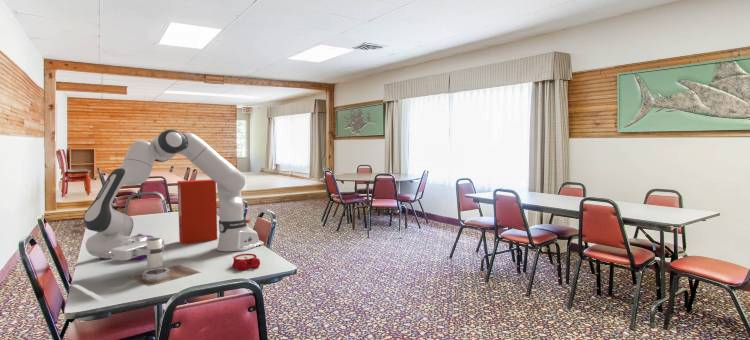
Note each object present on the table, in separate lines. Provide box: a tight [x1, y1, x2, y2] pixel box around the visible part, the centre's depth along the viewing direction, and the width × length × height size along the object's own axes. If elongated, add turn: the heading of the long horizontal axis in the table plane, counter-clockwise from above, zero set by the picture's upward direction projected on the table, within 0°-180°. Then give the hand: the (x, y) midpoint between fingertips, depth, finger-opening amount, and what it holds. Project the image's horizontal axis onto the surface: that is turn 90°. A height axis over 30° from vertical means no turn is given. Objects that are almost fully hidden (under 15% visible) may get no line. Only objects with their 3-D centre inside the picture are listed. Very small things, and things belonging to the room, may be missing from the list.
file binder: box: [177, 178, 218, 245], centre depth 222 cm, size 8×17×32 cm, turn 126°
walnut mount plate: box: [127, 264, 202, 287], centre depth 161 cm, size 20×17×1 cm
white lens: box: [146, 237, 163, 269], centre depth 157 cm, size 5×5×10 cm
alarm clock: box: [232, 253, 261, 271], centre depth 175 cm, size 10×6×15 cm
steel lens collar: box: [141, 267, 170, 282], centre depth 157 cm, size 9×9×2 cm
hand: (156, 250), depth 156 cm, fingers closed on white lens, 5 cm apart
